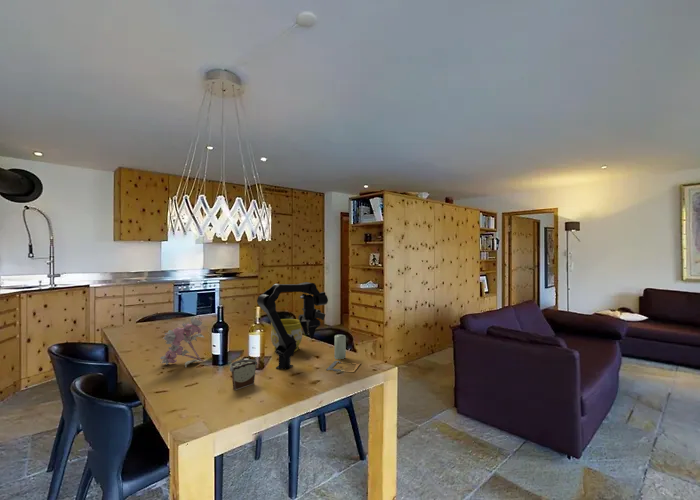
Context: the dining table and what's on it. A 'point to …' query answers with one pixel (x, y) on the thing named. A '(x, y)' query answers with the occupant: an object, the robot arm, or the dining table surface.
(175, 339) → the flower
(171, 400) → the dining table surface
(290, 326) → the flowerpot
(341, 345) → the sage cup
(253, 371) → the food container
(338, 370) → the dot frame
